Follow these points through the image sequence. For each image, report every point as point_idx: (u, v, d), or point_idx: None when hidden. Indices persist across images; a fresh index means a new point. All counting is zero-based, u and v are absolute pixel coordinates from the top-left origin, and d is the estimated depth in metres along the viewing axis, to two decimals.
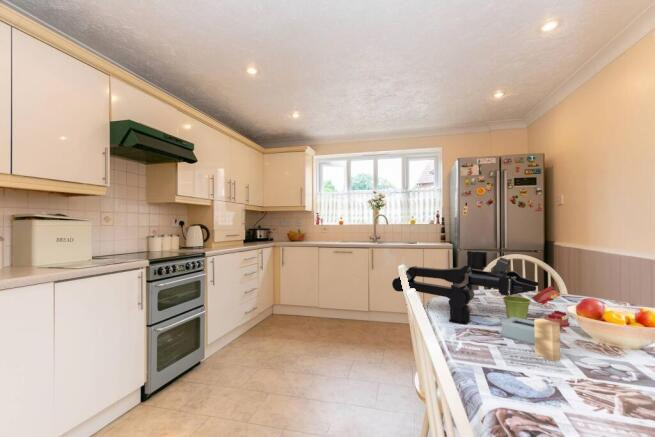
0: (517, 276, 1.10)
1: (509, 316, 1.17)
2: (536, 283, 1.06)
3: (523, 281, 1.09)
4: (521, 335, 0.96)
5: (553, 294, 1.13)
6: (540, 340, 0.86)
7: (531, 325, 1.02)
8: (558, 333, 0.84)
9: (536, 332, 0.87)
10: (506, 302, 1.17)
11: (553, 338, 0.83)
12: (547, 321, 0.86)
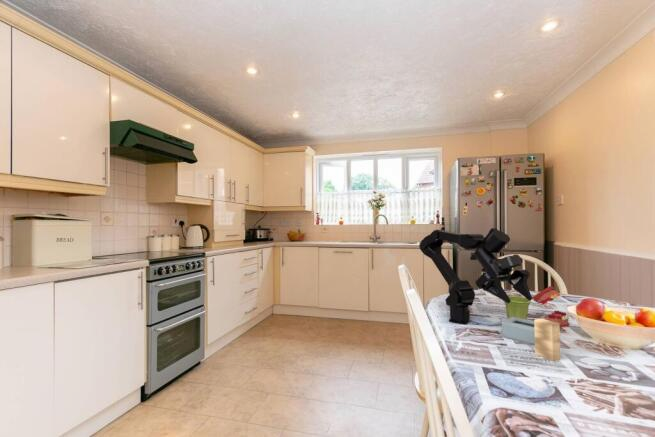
0: (521, 279, 0.99)
1: (509, 316, 1.17)
2: (529, 297, 0.95)
3: (522, 287, 0.98)
4: (521, 335, 0.96)
5: (553, 294, 1.13)
6: (540, 340, 0.86)
7: (531, 325, 1.02)
8: (558, 333, 0.84)
9: (536, 332, 0.87)
10: (506, 302, 1.17)
11: (553, 338, 0.83)
12: (547, 321, 0.86)
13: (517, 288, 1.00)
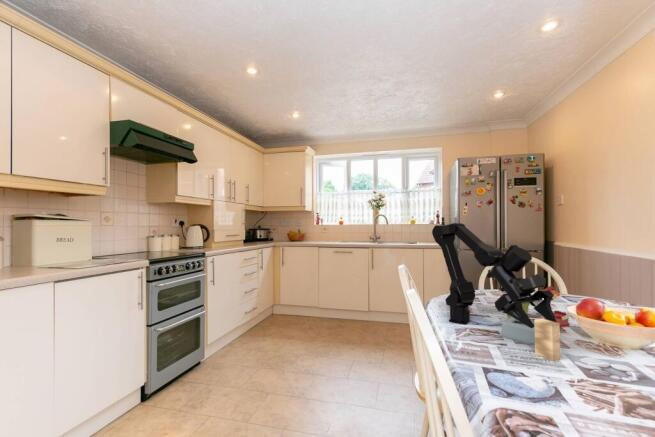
0: (544, 301, 0.91)
1: (509, 316, 1.17)
2: (554, 321, 0.88)
3: (545, 309, 0.91)
4: (521, 335, 0.96)
5: (553, 294, 1.13)
6: (540, 340, 0.86)
7: None
8: (558, 333, 0.84)
9: (536, 332, 0.87)
10: None
11: (553, 338, 0.83)
12: (547, 321, 0.86)
13: (539, 310, 0.93)
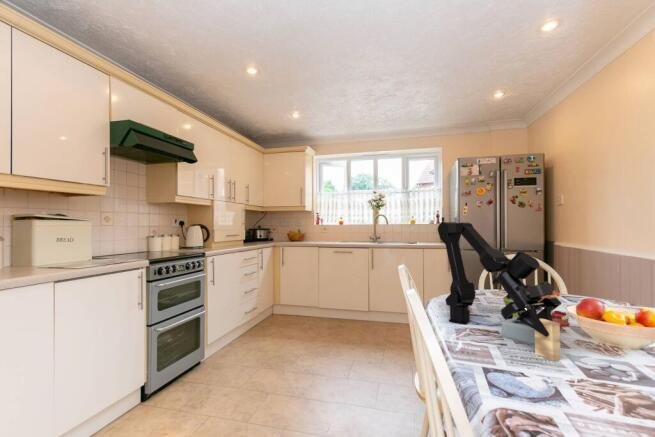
0: (544, 310, 0.88)
1: None
2: None
3: None
4: (521, 335, 0.96)
5: (553, 294, 1.13)
6: (540, 340, 0.86)
7: None
8: (558, 333, 0.84)
9: (536, 332, 0.87)
10: (506, 302, 1.17)
11: (553, 338, 0.83)
12: (547, 321, 0.86)
13: (539, 319, 0.90)
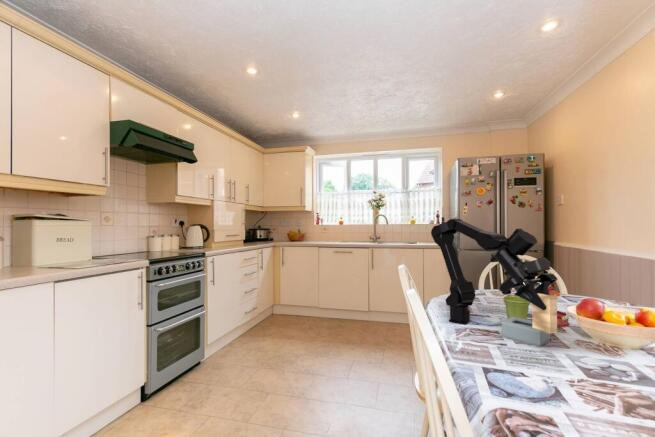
0: (542, 285, 0.90)
1: (509, 316, 1.17)
2: None
3: (542, 293, 0.90)
4: (521, 335, 0.96)
5: (553, 294, 1.13)
6: (537, 314, 0.88)
7: (531, 325, 1.02)
8: (555, 306, 0.86)
9: (534, 306, 0.89)
10: (506, 302, 1.17)
11: (550, 310, 0.85)
12: (544, 295, 0.88)
13: None
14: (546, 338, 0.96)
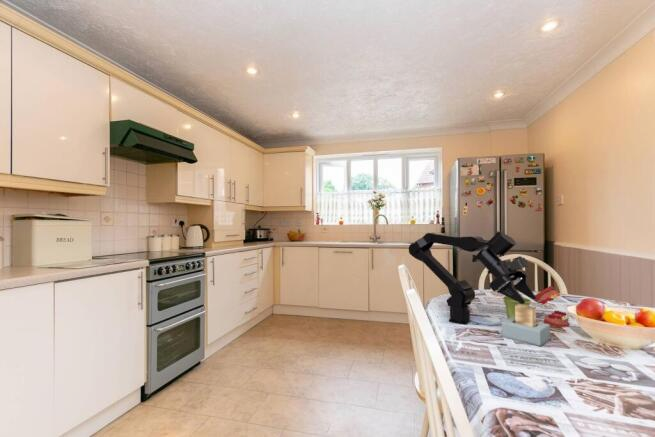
0: (523, 280, 1.05)
1: (509, 316, 1.17)
2: (533, 297, 1.02)
3: (524, 287, 1.04)
4: (521, 335, 0.96)
5: (553, 294, 1.13)
6: (520, 323, 0.99)
7: None
8: (535, 315, 0.98)
9: (517, 316, 1.00)
10: (506, 302, 1.17)
11: (532, 320, 0.97)
12: (525, 306, 1.00)
13: (519, 288, 1.06)
14: (546, 338, 0.96)
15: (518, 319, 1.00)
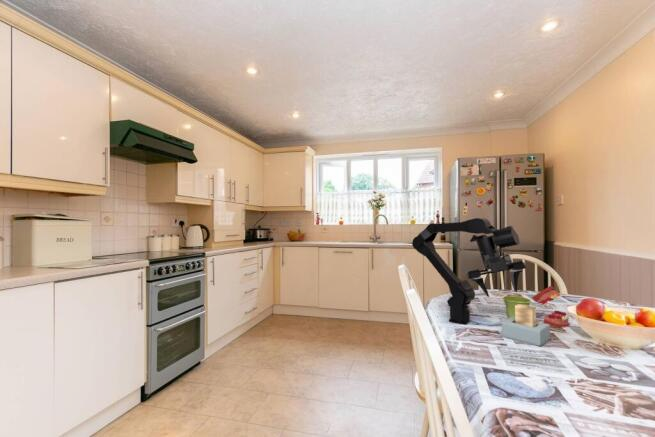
0: (513, 273, 1.05)
1: (509, 316, 1.17)
2: (515, 290, 1.06)
3: (512, 279, 1.06)
4: (521, 335, 0.96)
5: (553, 294, 1.13)
6: (520, 323, 0.99)
7: None
8: (535, 315, 0.98)
9: (517, 316, 1.00)
10: (506, 302, 1.17)
11: (532, 320, 0.97)
12: (525, 306, 1.00)
13: (510, 276, 1.08)
14: (546, 338, 0.96)
15: (518, 319, 1.00)
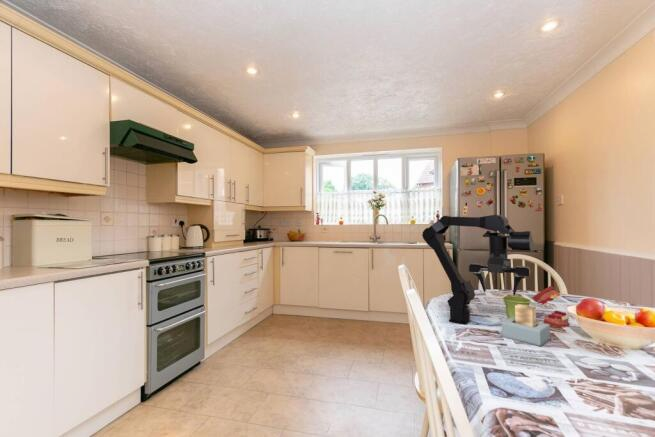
0: None
1: (509, 316, 1.17)
2: (513, 293, 1.05)
3: (514, 282, 1.05)
4: (521, 335, 0.96)
5: (553, 294, 1.13)
6: (520, 323, 0.99)
7: None
8: (535, 315, 0.98)
9: (517, 316, 1.00)
10: (506, 302, 1.17)
11: (532, 320, 0.97)
12: (525, 306, 1.00)
13: None
14: (546, 338, 0.96)
15: (518, 319, 1.00)
